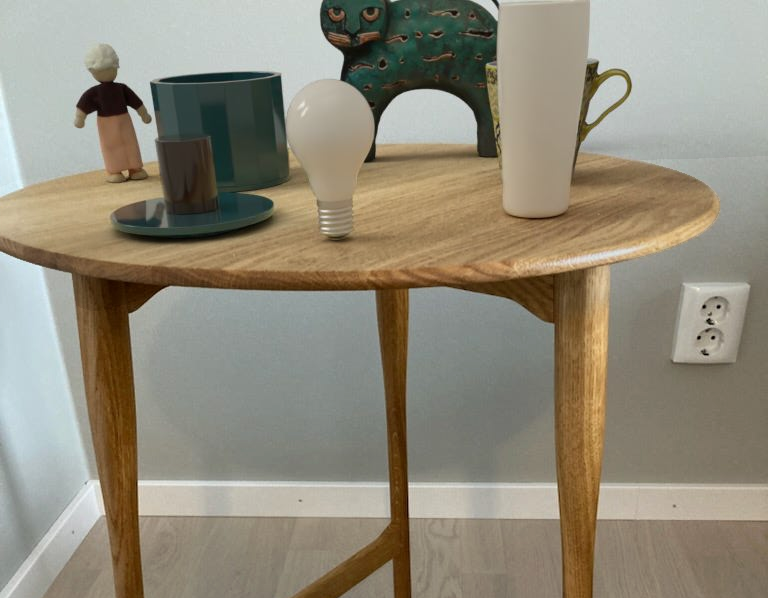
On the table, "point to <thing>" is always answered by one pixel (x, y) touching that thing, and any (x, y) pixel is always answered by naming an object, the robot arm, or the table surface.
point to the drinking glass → (540, 101)
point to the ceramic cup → (589, 90)
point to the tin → (230, 123)
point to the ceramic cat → (416, 53)
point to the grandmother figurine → (112, 115)
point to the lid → (190, 196)
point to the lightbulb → (331, 147)
